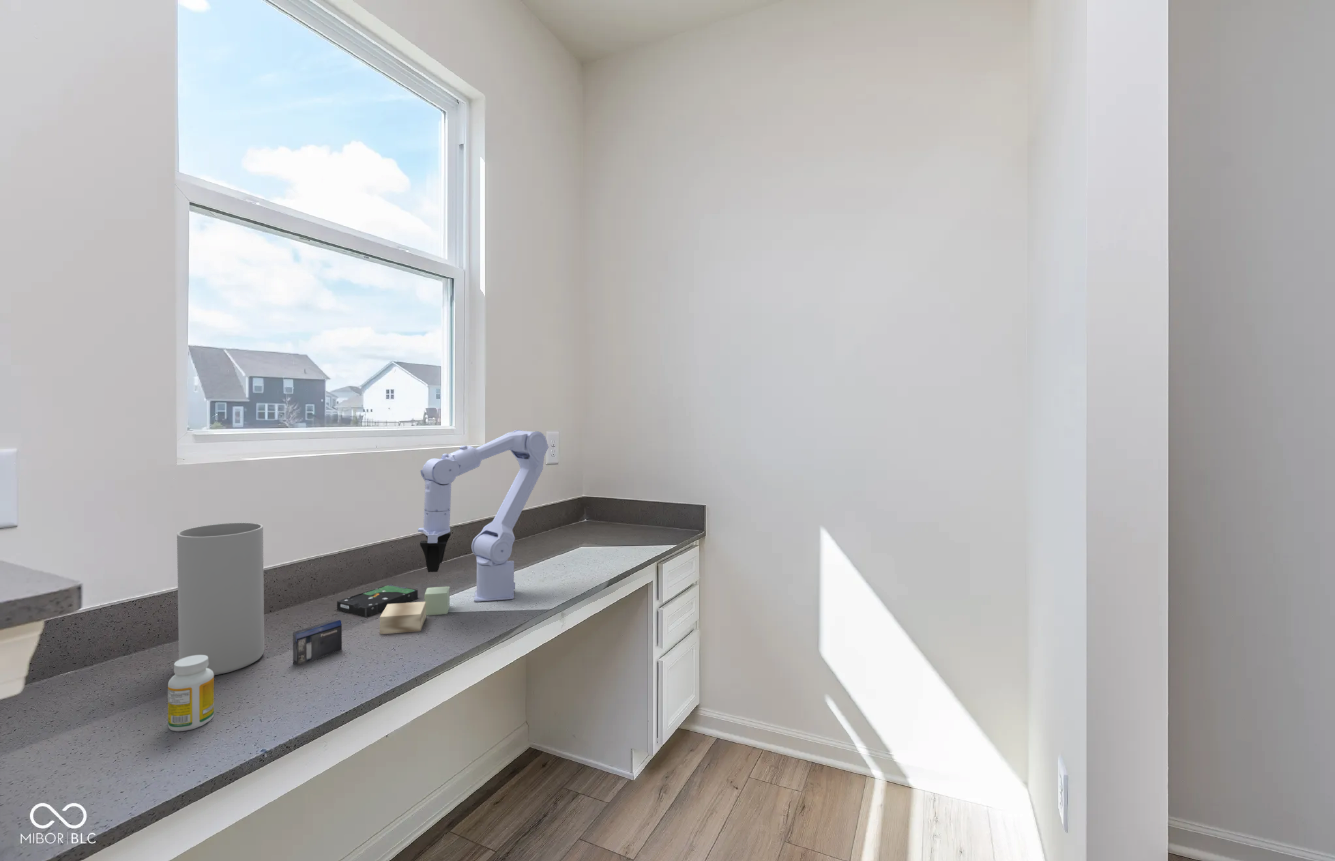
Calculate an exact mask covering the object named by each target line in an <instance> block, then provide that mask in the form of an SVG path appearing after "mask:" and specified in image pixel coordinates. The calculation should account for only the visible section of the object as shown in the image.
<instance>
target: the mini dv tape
mask: <svg viewBox="0 0 1335 861" xmlns="http://www.w3.org/2000/svg"><path fill="white" fill-rule="evenodd" d="M342 626H343V625H342V620H341V619H338V618H335V619H332V620H329V621H326V622H322V623H318V624H315V625H312V626H309V627H306V628H302V629H299V630H296V631H293V632H292V663H293V665H295V666H300V665H302V664H305V663H309V662H312V661H315V660H318V659H319V658H322V657H326V656H328V655H331V654H334V653H337V652H339V651H342V650H343V647H342V646H343V640H342V639H343V636H342V635H343V634H342V633H343V632H342V631H343V630H342Z"/></svg>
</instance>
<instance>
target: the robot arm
mask: <svg viewBox="0 0 1335 861" xmlns="http://www.w3.org/2000/svg"><path fill="white" fill-rule="evenodd" d="M549 447H550V446H549V444H548V441H547V438H546V436H545V434H544V433H543V432H541V431H537V430H535V431H532V430H531V431H530V430H529V431H528V430H520V429H515V430H513V431H509V432H506V433H504V434H503V435H501V436H499V437H497V438H494V439H492V440H490V441H488V442H486V443H484V444H482V445H480V446H478V447H474V446H471V445H468V446H467V445H460V446H459V449H457V450H454V451H453V452H450V453H446V452H445V453H443V454H442V455H441V457H440V458H437V457H436V458H435V457H433V458H430V459H428V460H426V462H425V463H424V464H423V466H422V469H421V470H420V475H421V476H420V477H421V478H422V479H423V480H424V483H425V484H424V506H423V509H424V510H423V527H418V529H417V533H423V534H424V535H425V538H426V540H421V541H420V542H419V545H420V548H421V550H422V552H423V554H424V560H425V565H426V570H427V572H428V573H438V572H439V568H440V566H441V564H442V563H443V561H444V560H443V559H444V556H445V552H446V547H447V544H448V541H449V539H450V537H451V535H452V532H451V527H450V526H451V522H450V521H451V503H452V500H451V498H452V483H454V481H455V480H456V478H457V477H458V476H461V475H463V474H466V473H468V472H470V471H473V470H474V469H476V468H477V469H478V468H479V467H480V465H481V464H482V461H483V460H487V459H489V458H491V457H494V456H496V455H499V454H502V453H505V452H507V451H510V452H511V453H512V454H513V457H514V458H515V459H516V461H517V463H518V464H519V470H518V472H517V474H516V476H515V478H514V479H513V481H512V483H511V486H510V488H508V489H509V490H508V491H507V493H506V495H505V496H504V498H503V501H502V503H501V505H500V506H499V508H498V510H497V513H495V516H494V518H493V520H492V521H490V522H489V523H488V524H486V525H485V526H483V528H482V530H481V531H480V532H479V533H478V534H477V535H475V537H474V538H473V540H472V542H471V546H470V547H471V551H472V553H473V555H474V556H475V558H476V559H475V560H476V590H475V593H474V597H473V601H474V603H475V602H490V601H504V600H505V601H506V600H513V599H514V598H515V596H514V595H515V594H514V592H515V590H516V582H515V561H514V560H509V558H510V557H511V554H512V551H513V544H514V542H515V541H516V537H515V534H514V531H513V529H514V527H515V526H516V523H517V522H518V520H519V518H520V515H521V514H522V511H523V510H524V508H525V505H526V504H527V502H528V499H529V498H530V496H531V493H532V492H533V490H534V488H535V486H536V484H537V482H538V480H539V478H540V475H541V474H542V472H543V470H544V464H545V463H544V461H545V456H546V454H547V451H548V449H549Z"/></svg>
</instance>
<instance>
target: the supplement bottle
mask: <svg viewBox="0 0 1335 861" xmlns="http://www.w3.org/2000/svg"><path fill="white" fill-rule="evenodd" d="M208 665H209V663H208V656H206V655H194V656H189V657H185V658H182V659H180V660H179V659H177V660H176V661H175V662H174V664H173V673H174V675H173V676H172V677H170V678H169V680H168V683H167V726H168V729H169V730H171V731H172V732H187V731H190V730H194V729H197V728H200V727H201V726H204V725H206V724H207V723H209V722H210V721H212V720H213V718H214V715H215V694H214V693H215V687H214V686H215V675H214V673H213V671H212V670H211V669H209V668H207V667H208Z"/></svg>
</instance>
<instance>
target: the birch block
mask: <svg viewBox="0 0 1335 861" xmlns="http://www.w3.org/2000/svg"><path fill="white" fill-rule="evenodd" d="M426 619H427V615H426V602H424V601H416V602H415V601H414V602H412V601H411V602H407V603H396V604H387V606H386V608H385V609H384V611H382V612H381V614H380V616H379V635H387V634H388V635H389V634H398V633H413V632H414V633H415V632H421V631H422V628H423V626H424V624H425V621H426Z"/></svg>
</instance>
